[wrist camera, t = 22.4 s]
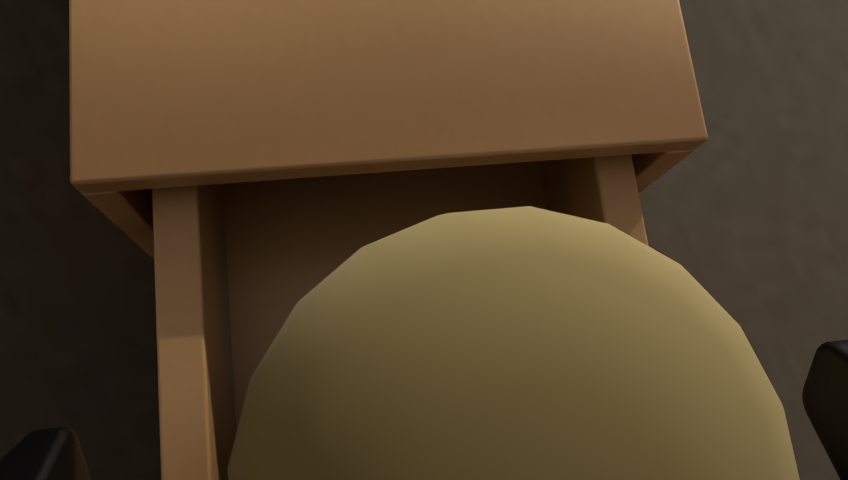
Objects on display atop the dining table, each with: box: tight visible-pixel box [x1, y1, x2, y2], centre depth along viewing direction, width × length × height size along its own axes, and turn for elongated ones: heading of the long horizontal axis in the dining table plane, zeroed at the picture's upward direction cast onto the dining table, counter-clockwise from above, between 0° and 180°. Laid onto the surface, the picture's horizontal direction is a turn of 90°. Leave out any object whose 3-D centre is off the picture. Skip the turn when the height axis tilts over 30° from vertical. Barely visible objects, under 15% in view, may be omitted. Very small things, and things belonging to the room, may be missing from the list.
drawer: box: [152, 155, 648, 480], centre depth 15 cm, size 22×10×5 cm, turn 7°
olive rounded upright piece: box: [227, 206, 800, 480], centre depth 11 cm, size 6×6×11 cm
